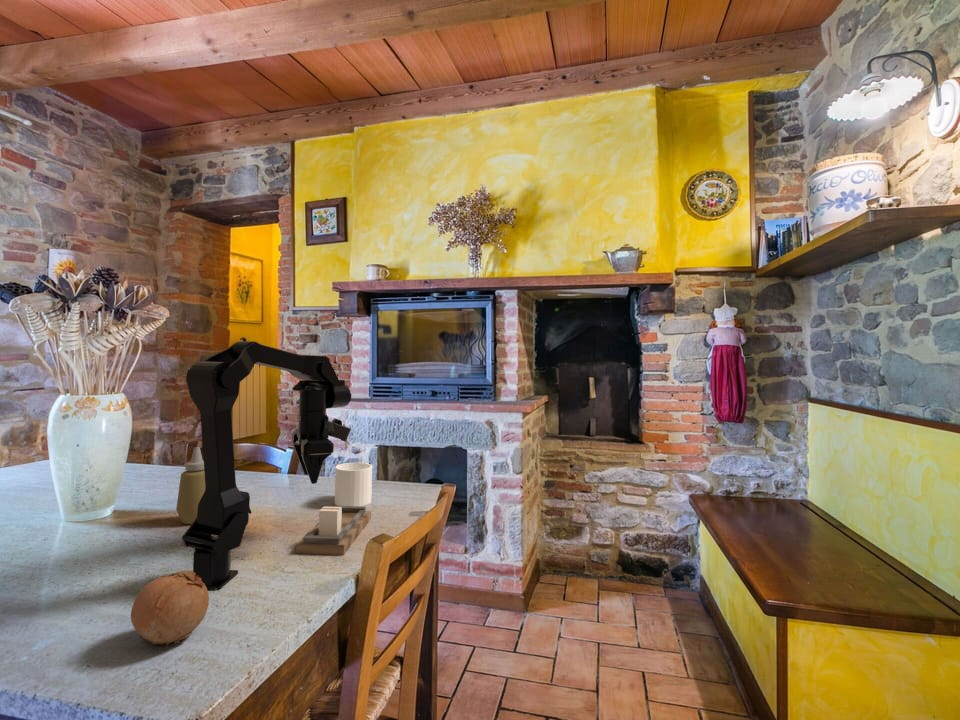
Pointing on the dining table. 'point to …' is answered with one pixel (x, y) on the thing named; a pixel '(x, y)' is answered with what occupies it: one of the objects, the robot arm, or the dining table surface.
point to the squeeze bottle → (191, 488)
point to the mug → (353, 484)
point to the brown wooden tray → (338, 545)
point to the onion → (170, 607)
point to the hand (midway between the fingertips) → (310, 478)
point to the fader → (330, 521)
